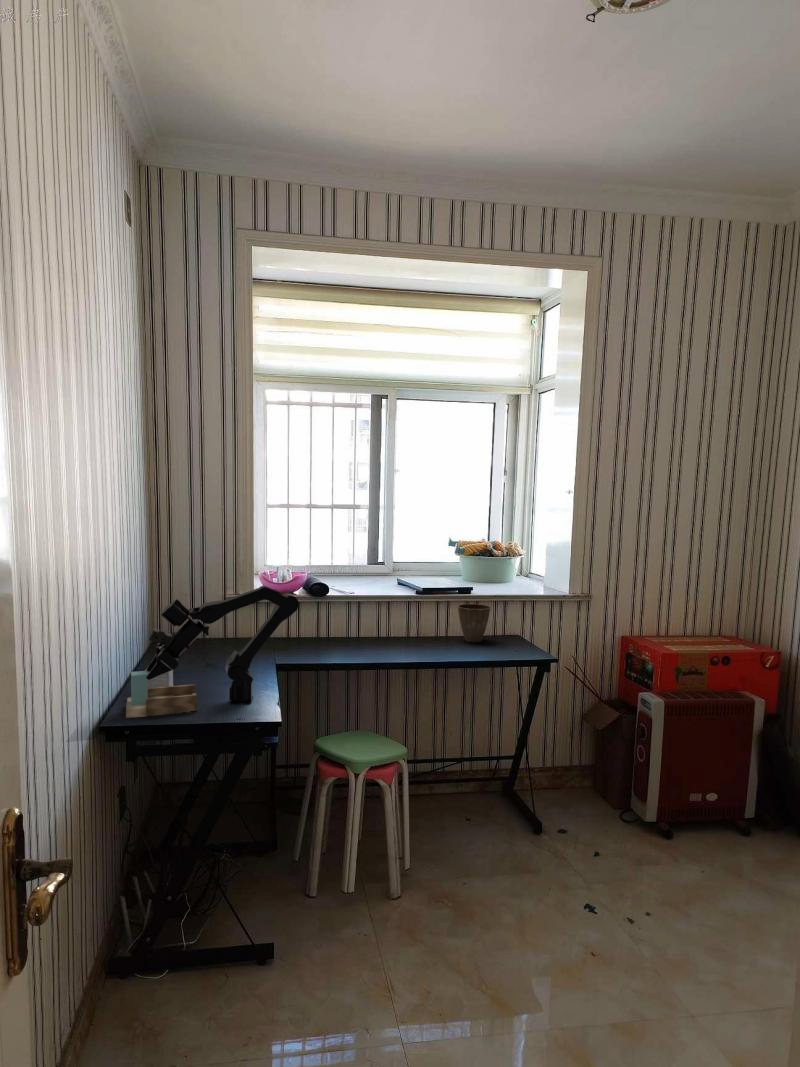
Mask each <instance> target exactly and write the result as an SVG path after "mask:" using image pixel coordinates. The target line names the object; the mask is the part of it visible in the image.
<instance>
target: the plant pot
mask: <svg viewBox="0 0 800 1067" xmlns="http://www.w3.org/2000/svg"><path fill="white" fill-rule="evenodd" d="M457 610H458V616H459V617H458V618H459V622H460V627H461V631H462V634H463V637H464V640H465V642H468V643H481V642H482V640H483V638H484V636H485V632H486V629H487V626H488V623H489V617H490V614H491V613H490V612H491V606H489V605H486V604H476V603H464V604H463V603H462V604H459V605H457Z"/></svg>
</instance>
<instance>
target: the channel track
mask: <svg viewBox="0 0 800 1067" xmlns="http://www.w3.org/2000/svg"><path fill="white" fill-rule="evenodd" d="M190 711H197V712H198V694H197V693H196V684H194V683H193V684H182V685H173V686H167V687H155V688H147V699H146V704H142V705H131V696H130V697H127V699H126V708H125V718H126V719H132V718H140V717H141V718H143V717H152V716H163V715H172V714H175V713H176V714H183V713H182V712H186V713H191V712H190Z"/></svg>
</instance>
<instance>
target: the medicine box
mask: <svg viewBox="0 0 800 1067" xmlns="http://www.w3.org/2000/svg"><path fill="white" fill-rule="evenodd" d="M144 671H147V668H145V670H144ZM148 674H149V672H148V671H147V675H148ZM167 686H174V670H172V671H169V672H166V673H164V674H161V675H159V676H157V677H155V678H152V679H150V680H148V679H147V688H155V687H167Z"/></svg>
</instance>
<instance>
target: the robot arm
mask: <svg viewBox="0 0 800 1067" xmlns="http://www.w3.org/2000/svg"><path fill="white" fill-rule="evenodd" d="M264 600H266V601H267V602H271V603H272V604H274V606H273V608H272V611H271V612H270V615H269V616H268V617H267V619H266V620H265V621H264V622H263V624H262V625H261V626H260V628H259V629H258V630H257V631H256V632H255V633H254V635H253V636H252V637H251V638H250V640H249V641H248V642H247V644H246V645H245V646H244V647H243V648H242V649H241V650H240V651H236V650H235V649H234V650H233V652H232V653H231V655H230V656H229V657H228V658H226V663H225V671H226V674H227V676H228V678H229V679H230V680H232V681H231V685H230V687H229V694H228V695H229V701H230V702H229V704H230V705H245V704H246V705H249V704H250V705H251V704H252V703H253V700H254V695H253V682H254V678H253V676H252V674H251V672H250V670H249V669H250V667H251V664H252V663H253V660H254V658H255V657H256V655H257V654H258V653H259V651H260V650H261V649H262V647H263V646H264V645H265V644H266V643H267V641H268V640H269V638H270V637H271V636H272V635H273V633H274V632H275V631H276V630H277V629H278V627H279V626H280V625H281V624H282V623H283V622H284V621H286V620H287V619H289V618H290V617H291V616H292V615H294V614H295V613H296V612H297V611H298V610H299V606H300V602H299V599H298V598H297V597H296V596H295V595H293V594H292V593H288V592H286V593H283V592H280V591H278V590H276V589H273V588H271V587H269V586H267V585H265V584H264V585H261V586H259V587H257V588H254V589H252V590H250V591H245V592H244V593H240V594H237V595H235V596H232V597H230V598H227V599H223V600H215V601H214V600H213V601H209V602H204V603H202V604H200V605H199V606H197V607H192V608H188V607H186V606H185V605H184V604H183V603H182V602H181V600H180V599H178V598H175V599H174V601H172V602H171V603H169V604H168V605H167V606H165V607H164V609H162V611H161V612H160V614H159V615H160V616H161V617H162V618H163V619H165V621H167V622H168V623H169V624H170V625H171V626H172V627H176V626H177V627H180V628H179V629H177V631H172V633H168V632H166V631H164V630H161V629H159V628H156V627H152V630H151V632H150V634H149V636H148V640H149V641H151V642H152V643H154V642H155V643H157V645H156V646H155V647H156V650H155V651H156V653H155V655H154V656H153V658H152V660H151V662H150V663H149V665H148V666H147V668H146V669H147V671H148V672H149V674H148V675H147V677H146V678H147V679H148V680H150V679H152V678H155V677H157V676H159V675H161V674H164V673H166V672H169V671H172V670H173V671H175V670H176V668H178V667H179V658H181V655H182V654H183V653H184V652H185V651H186V650H188V649H189V648H190V647H191V644H192V643H193V642H194V641H195V640H196V639H198V637H199V636H200V635H201V634H202V633H203V634H205V635H206V636H209V635H210V633H209V631H210V630H209V629H210V624H211V625H212V624H213V623H215V622H217V621H219V620H220V619H222V618H224V617H225V616H226V615H227V614H230V613H232V612H234V611H237V610H239V609H242V608H244V607H245V608H246V607H247V606H250V605H253V604H255V603H259V602H261V601H264ZM195 620H196V621H195ZM203 623H204V624H203Z"/></svg>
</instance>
